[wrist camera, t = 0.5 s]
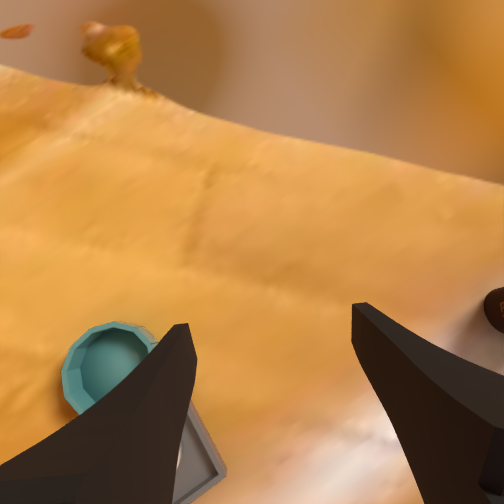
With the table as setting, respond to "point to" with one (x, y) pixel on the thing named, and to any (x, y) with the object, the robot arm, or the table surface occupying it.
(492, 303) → the coffee mug
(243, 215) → the table surface
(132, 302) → the table surface
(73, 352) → the bowl
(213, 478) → the parts tray
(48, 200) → the table surface
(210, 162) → the table surface
